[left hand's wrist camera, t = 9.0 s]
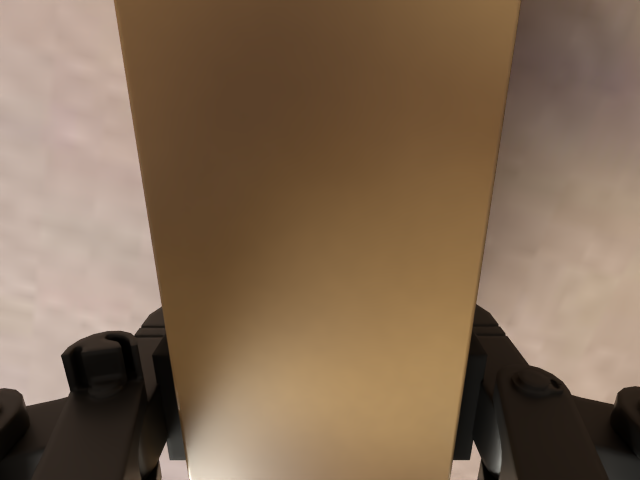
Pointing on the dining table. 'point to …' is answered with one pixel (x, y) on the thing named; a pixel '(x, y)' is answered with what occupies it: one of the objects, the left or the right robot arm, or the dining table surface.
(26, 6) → the dining table surface
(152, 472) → the left robot arm
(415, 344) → the beam
